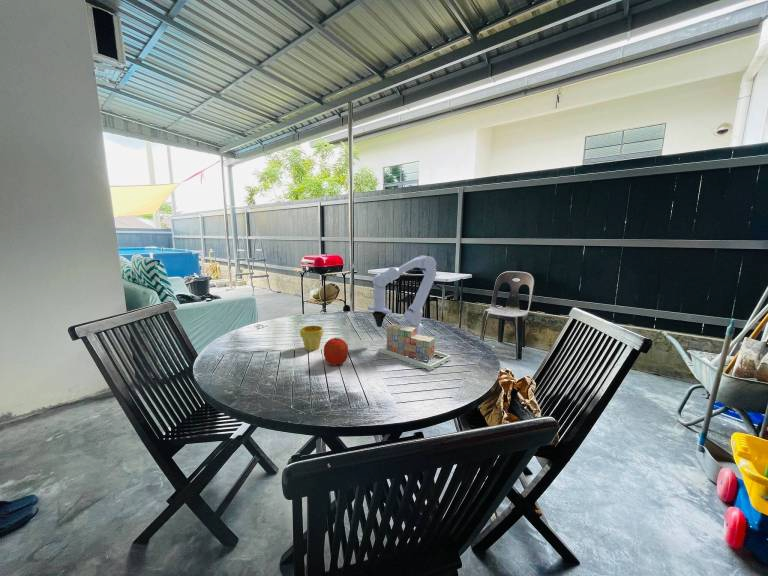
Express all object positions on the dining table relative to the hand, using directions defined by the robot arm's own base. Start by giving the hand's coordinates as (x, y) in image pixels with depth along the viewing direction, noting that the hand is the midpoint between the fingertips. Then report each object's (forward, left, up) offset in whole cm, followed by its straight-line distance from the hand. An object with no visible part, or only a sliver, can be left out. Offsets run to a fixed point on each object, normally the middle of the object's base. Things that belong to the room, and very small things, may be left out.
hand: (379, 326), depth 153 cm
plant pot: (+27, -18, -9) cm, 34 cm away
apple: (+30, +4, -9) cm, 32 cm away
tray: (0, +21, -9) cm, 23 cm away
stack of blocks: (0, +20, -9) cm, 22 cm away
